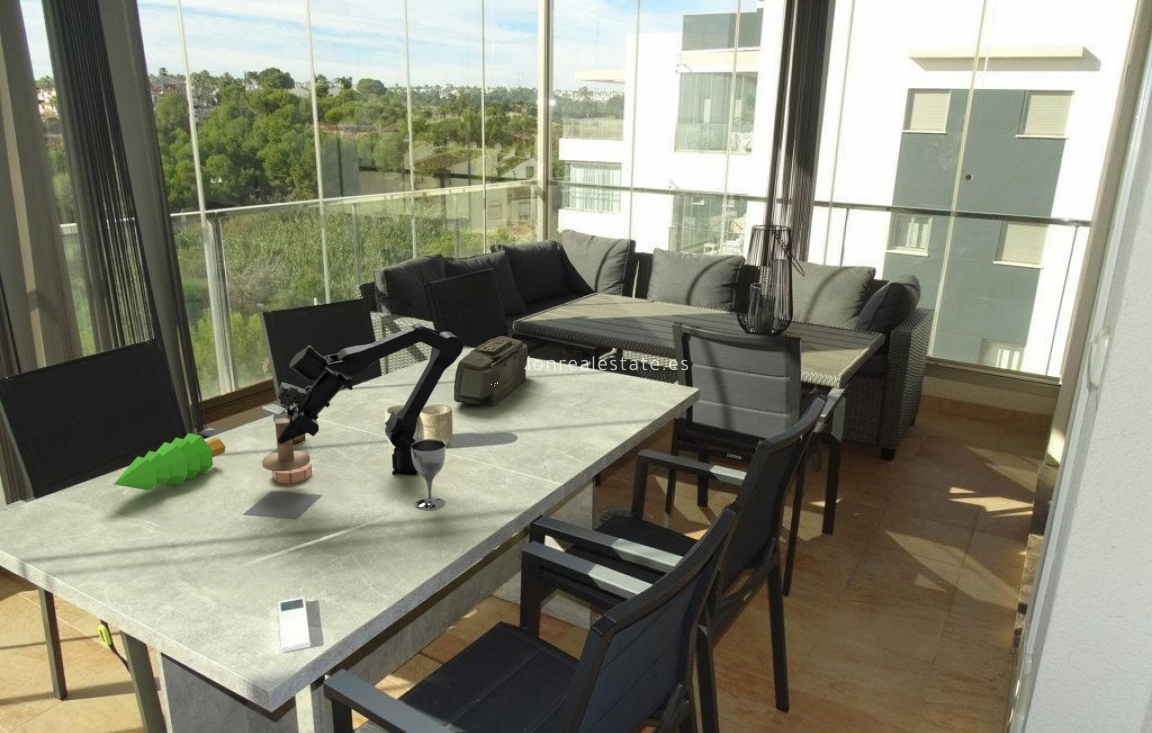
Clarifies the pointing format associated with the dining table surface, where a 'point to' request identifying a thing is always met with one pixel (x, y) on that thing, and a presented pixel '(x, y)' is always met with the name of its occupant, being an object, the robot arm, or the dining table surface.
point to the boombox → (491, 371)
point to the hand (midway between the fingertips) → (278, 440)
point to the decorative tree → (172, 462)
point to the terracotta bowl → (293, 474)
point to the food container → (284, 415)
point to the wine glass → (428, 468)
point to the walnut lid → (285, 452)
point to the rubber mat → (283, 505)
